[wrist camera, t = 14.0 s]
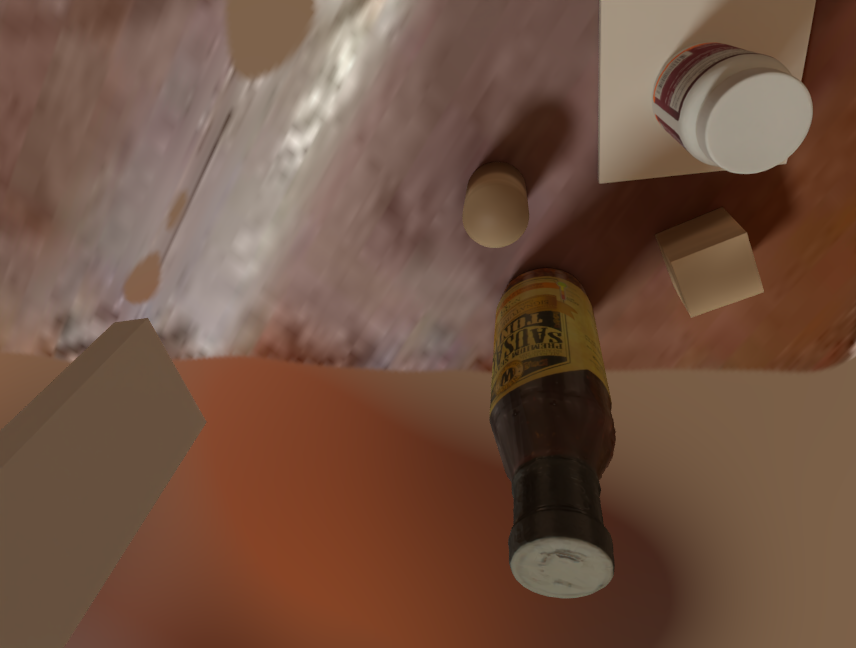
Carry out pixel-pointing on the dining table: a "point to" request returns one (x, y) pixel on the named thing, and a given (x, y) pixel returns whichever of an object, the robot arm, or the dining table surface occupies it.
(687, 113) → the pill bottle
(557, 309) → the sauce bottle
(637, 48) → the tile
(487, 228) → the cork
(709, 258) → the beech block
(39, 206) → the dining table surface
